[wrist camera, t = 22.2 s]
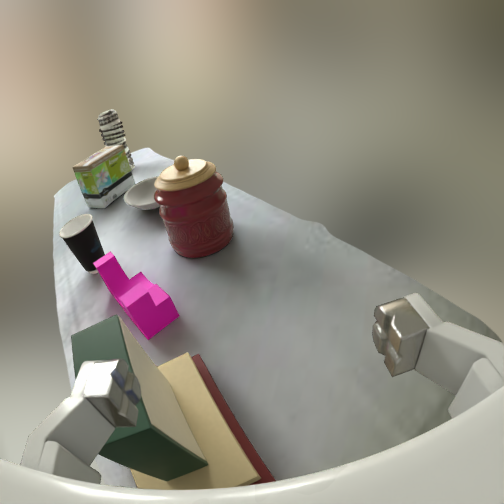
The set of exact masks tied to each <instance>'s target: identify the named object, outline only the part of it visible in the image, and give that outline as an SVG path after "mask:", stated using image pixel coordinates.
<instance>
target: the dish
mask: <svg viewBox="0 0 504 504" xmlns="http://www.w3.org/2000/svg"><path fill="white" fill-rule="evenodd" d="M158 177H159V176H157V177H152V178H148V179H145V180H143V181H141V182H139V183H137V184H135V185H134V186H132V187H131V188H130V189H129V190H128V191H127V192H126V194H125V196H124V201H125V202H126V203H127V204H128V205H130V206H134V207H136V208H138V209H143V210H150V209H155V208H158V207H160V206H159V204H158V203H156V202H155V200H154V193H155V191H156V190H157V189H156V188H155V186H154V183H155V180H156V179H157V178H158Z"/></svg>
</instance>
